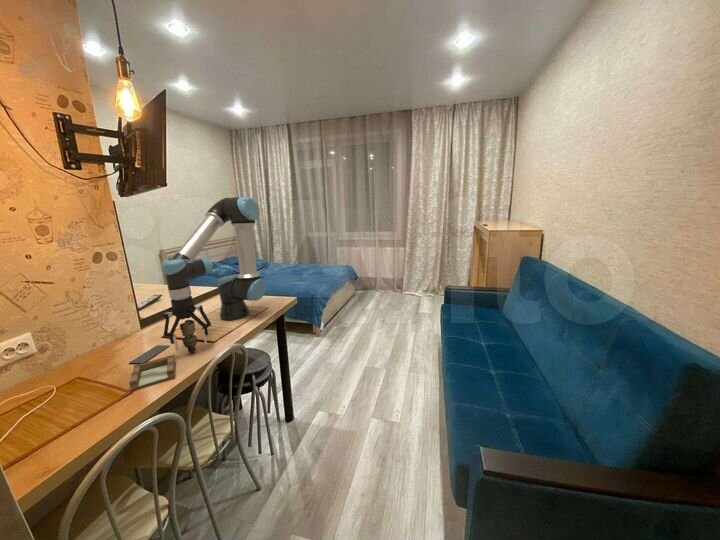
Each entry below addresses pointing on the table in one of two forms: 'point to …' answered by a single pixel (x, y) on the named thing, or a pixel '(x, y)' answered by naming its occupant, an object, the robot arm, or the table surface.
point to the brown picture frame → (152, 372)
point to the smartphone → (149, 354)
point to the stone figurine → (189, 335)
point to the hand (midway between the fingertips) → (191, 345)
